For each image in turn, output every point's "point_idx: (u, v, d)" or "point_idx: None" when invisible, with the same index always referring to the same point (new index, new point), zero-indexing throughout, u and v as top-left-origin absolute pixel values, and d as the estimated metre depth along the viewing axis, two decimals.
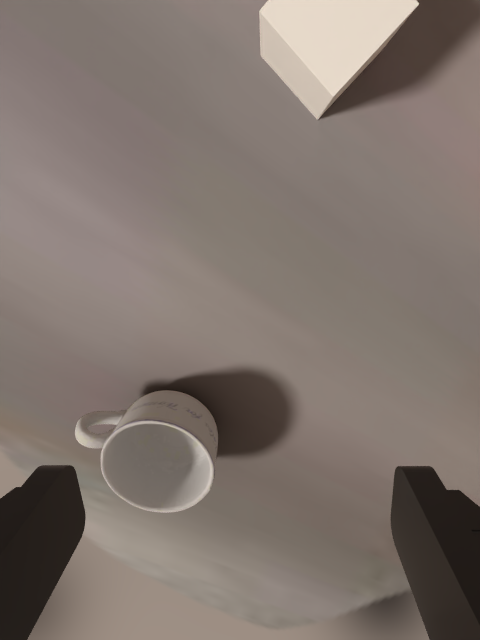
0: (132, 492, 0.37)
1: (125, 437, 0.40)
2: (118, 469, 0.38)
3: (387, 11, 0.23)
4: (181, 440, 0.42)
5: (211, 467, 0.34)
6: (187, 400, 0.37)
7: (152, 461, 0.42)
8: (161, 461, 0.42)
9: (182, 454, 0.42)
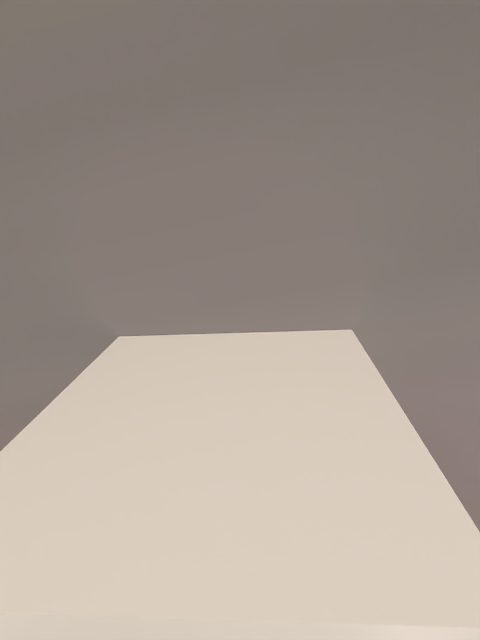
0: None
1: None
2: None
3: None
4: None
5: None
6: None
7: None
8: None
9: None
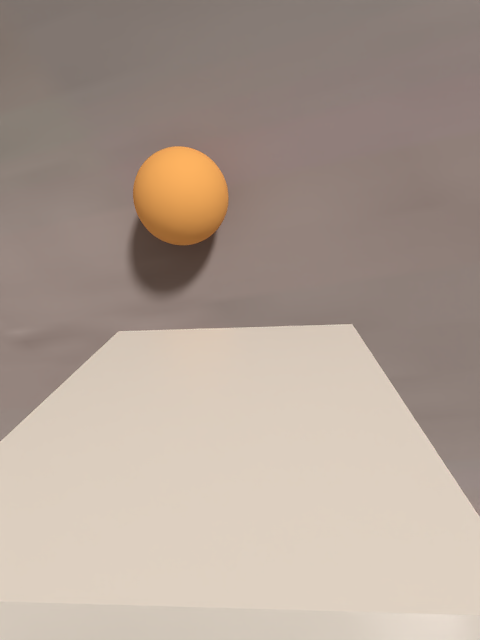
0: None
1: None
2: None
3: None
4: None
5: None
6: None
7: None
8: None
9: None
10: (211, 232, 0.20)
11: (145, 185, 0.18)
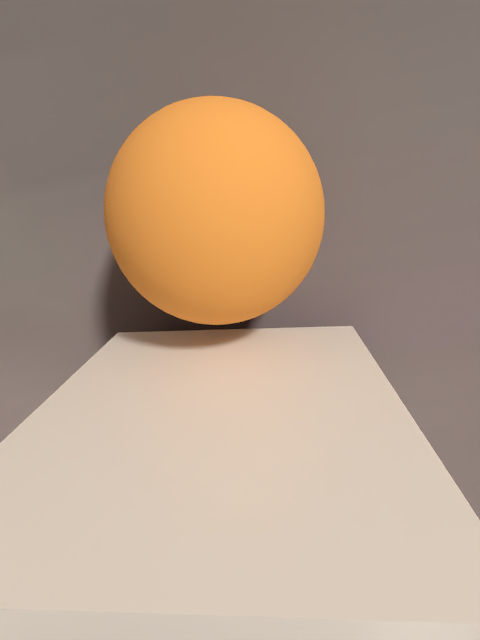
0: None
1: None
2: None
3: None
4: None
5: None
6: None
7: None
8: None
9: None
10: (275, 136, 0.07)
11: None
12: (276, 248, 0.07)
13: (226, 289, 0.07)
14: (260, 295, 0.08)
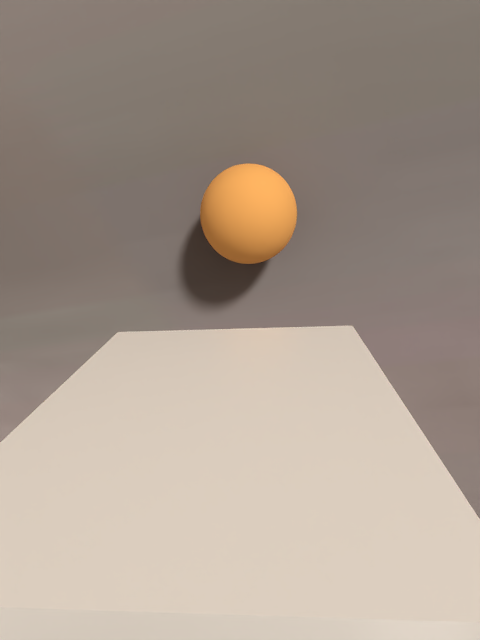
0: None
1: None
2: None
3: None
4: None
5: None
6: None
7: None
8: None
9: None
10: None
11: None
12: None
13: None
14: None
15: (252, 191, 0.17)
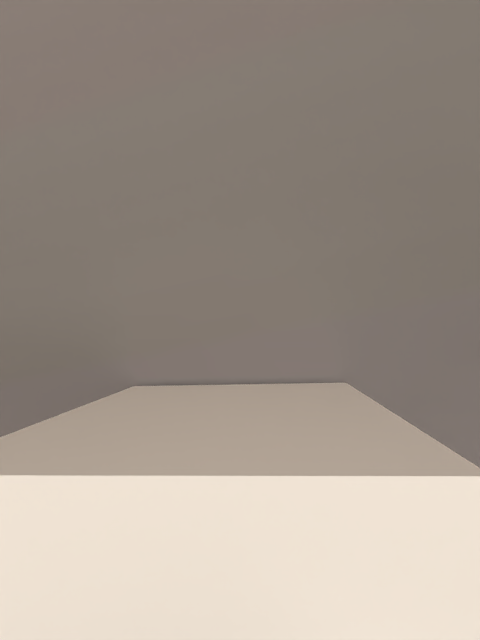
0: None
1: None
2: None
3: None
4: None
5: None
6: None
7: None
8: None
9: None
10: None
11: None
12: None
13: None
14: None
15: None
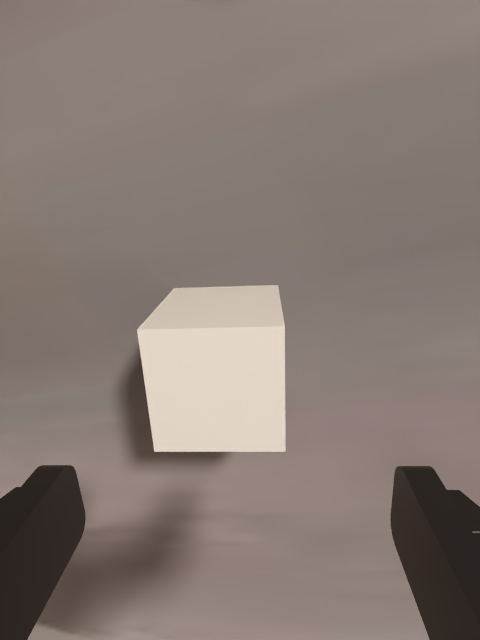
0: None
1: None
2: None
3: (171, 427, 0.19)
4: None
5: None
6: None
7: None
8: None
9: None
10: None
11: None
12: None
13: None
14: None
15: None
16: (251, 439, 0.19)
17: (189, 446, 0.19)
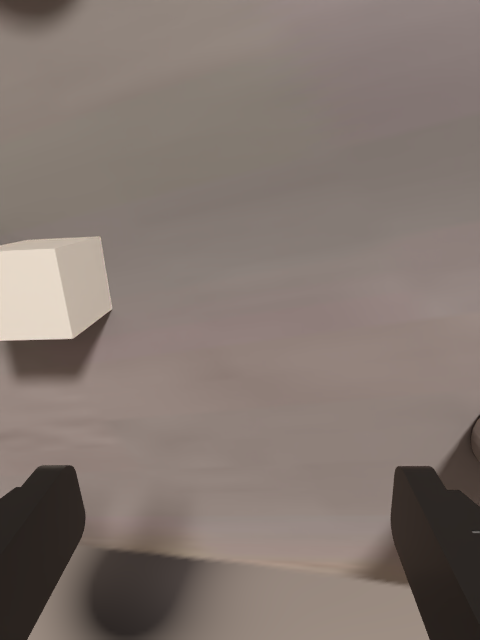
0: None
1: None
2: None
3: None
4: None
5: None
6: None
7: None
8: None
9: None
10: None
11: None
12: None
13: None
14: None
15: None
16: (49, 330, 0.29)
17: (10, 336, 0.29)
